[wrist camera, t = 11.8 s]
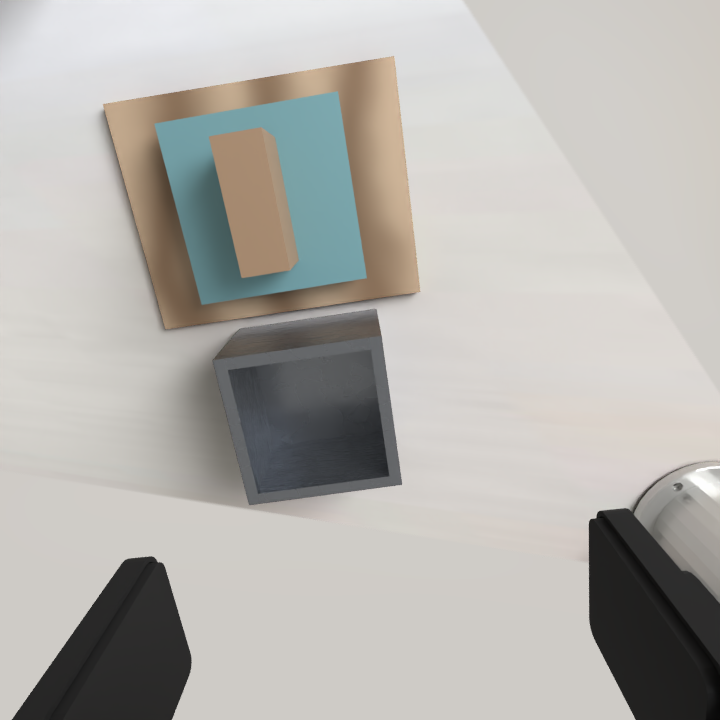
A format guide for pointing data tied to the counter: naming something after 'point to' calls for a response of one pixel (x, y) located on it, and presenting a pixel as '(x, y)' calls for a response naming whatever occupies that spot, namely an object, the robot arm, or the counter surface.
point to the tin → (309, 407)
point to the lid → (265, 197)
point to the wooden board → (368, 173)
